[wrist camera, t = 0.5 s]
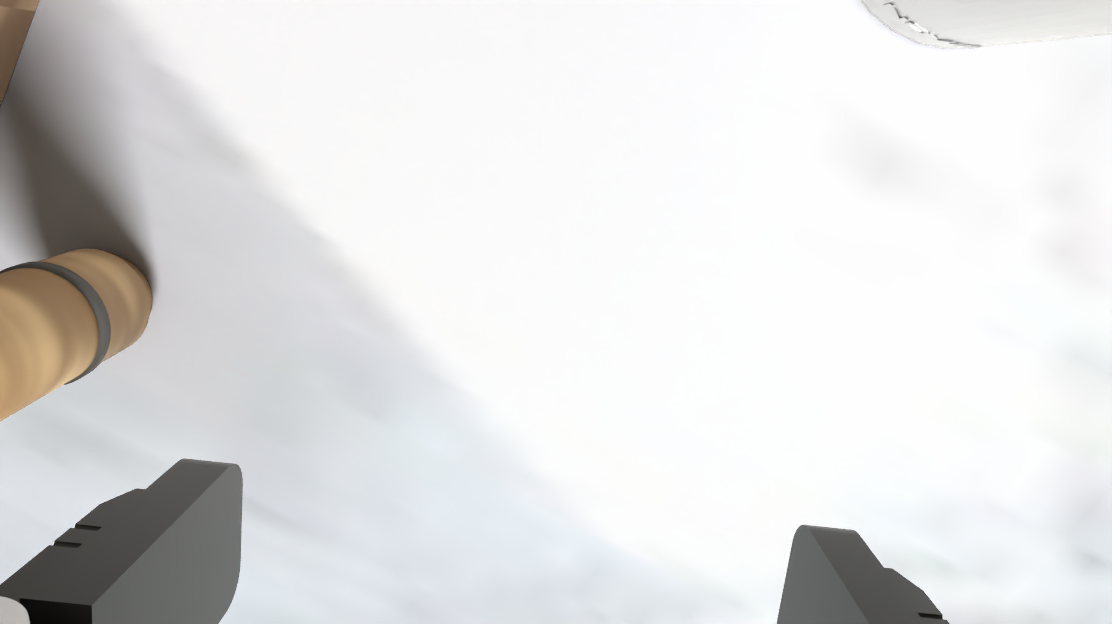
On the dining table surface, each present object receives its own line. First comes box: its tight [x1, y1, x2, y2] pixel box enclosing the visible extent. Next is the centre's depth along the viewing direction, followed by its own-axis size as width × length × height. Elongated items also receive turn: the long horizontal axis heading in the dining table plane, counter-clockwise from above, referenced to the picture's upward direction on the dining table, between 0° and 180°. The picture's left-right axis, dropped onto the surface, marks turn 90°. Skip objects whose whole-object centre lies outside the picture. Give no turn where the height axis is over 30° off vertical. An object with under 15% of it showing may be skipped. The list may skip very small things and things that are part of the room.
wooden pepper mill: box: [0, 248, 152, 421], centre depth 25 cm, size 4×4×12 cm
